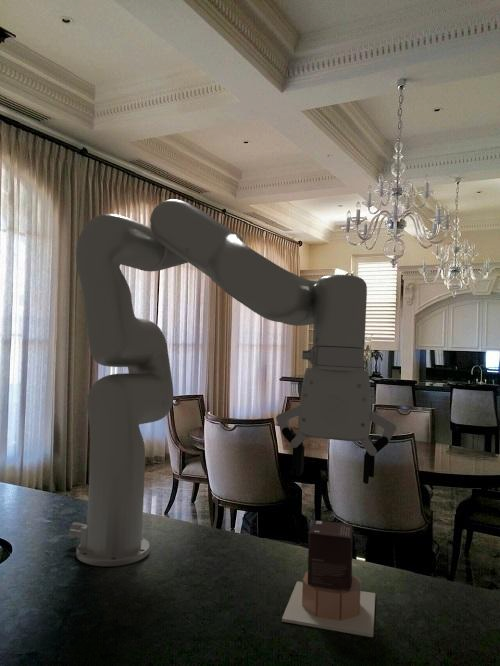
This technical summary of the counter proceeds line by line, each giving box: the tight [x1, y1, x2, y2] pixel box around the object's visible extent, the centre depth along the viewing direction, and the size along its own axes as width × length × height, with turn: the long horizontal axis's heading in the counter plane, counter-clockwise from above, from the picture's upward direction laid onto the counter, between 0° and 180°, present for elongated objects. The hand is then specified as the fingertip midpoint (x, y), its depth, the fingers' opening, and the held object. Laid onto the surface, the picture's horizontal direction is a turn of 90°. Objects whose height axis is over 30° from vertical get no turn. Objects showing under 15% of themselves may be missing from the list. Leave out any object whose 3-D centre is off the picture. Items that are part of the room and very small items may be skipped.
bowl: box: [302, 570, 362, 621], centre depth 73 cm, size 8×8×4 cm
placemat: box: [281, 580, 376, 638], centre depth 72 cm, size 12×12×1 cm
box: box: [307, 520, 354, 590], centre depth 73 cm, size 6×6×7 cm
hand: (332, 477), depth 74 cm, fingers open, 9 cm apart
